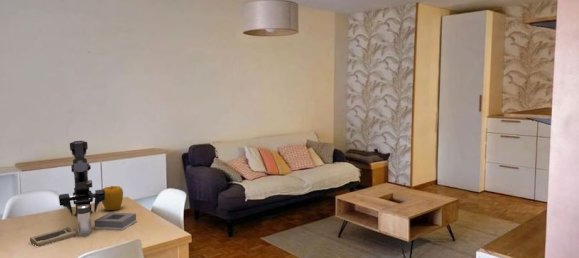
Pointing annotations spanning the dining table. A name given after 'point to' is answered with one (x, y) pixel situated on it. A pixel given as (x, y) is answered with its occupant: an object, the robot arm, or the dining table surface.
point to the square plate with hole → (115, 221)
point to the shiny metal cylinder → (84, 220)
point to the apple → (113, 197)
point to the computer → (53, 236)
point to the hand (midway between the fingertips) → (83, 213)
